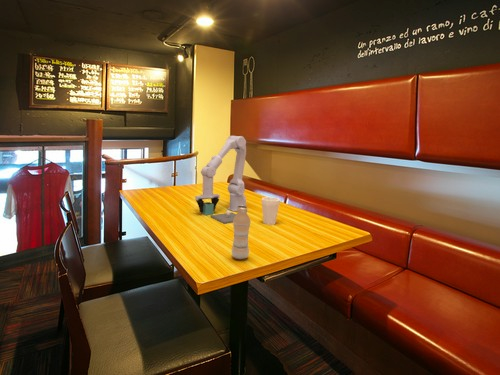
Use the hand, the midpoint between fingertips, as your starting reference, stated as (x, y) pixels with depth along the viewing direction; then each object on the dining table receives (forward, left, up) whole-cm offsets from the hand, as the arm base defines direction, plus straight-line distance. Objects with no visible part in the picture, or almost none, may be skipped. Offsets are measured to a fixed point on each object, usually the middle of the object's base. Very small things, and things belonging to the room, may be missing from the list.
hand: (207, 211), depth 181 cm
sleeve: (0, 0, -1) cm, 1 cm away
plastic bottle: (+20, +61, -2) cm, 64 cm away
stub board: (-5, +14, -1) cm, 15 cm away
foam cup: (-20, +31, -2) cm, 37 cm away
